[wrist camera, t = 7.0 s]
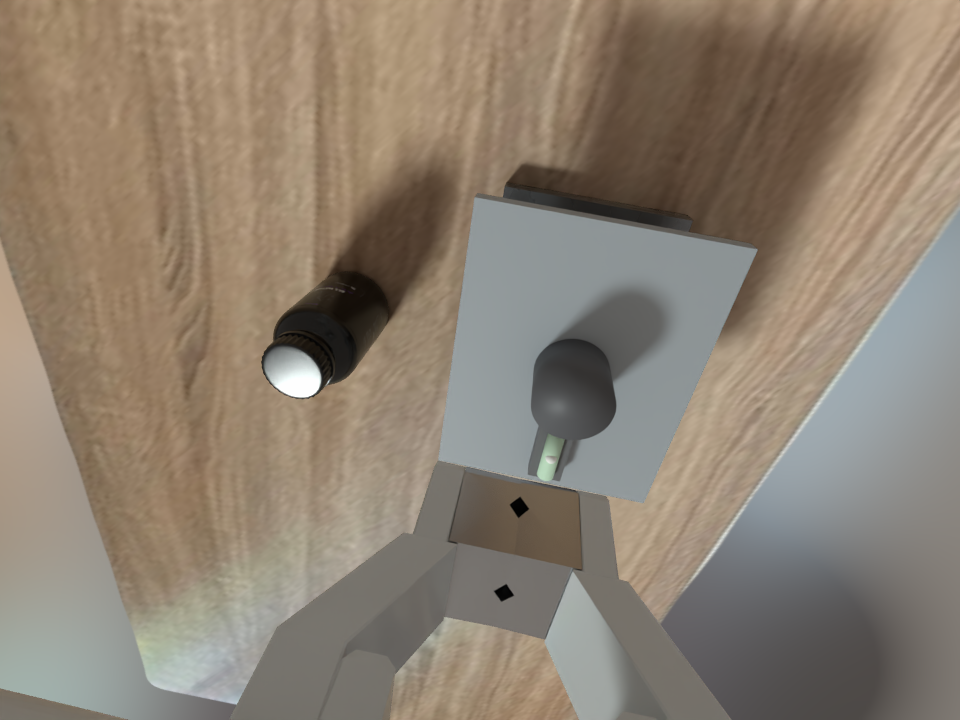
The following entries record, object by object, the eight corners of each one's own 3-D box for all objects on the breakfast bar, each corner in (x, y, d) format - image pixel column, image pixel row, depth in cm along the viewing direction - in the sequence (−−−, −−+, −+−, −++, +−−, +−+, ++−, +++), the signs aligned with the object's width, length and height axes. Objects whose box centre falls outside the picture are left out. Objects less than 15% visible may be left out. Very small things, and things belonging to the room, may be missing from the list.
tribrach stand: (506, 182, 38) (493, 209, 30) (687, 215, 37) (721, 252, 29) (474, 375, 47) (457, 434, 39) (618, 404, 46) (630, 470, 39)
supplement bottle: (353, 254, 42) (287, 310, 32) (405, 312, 45) (359, 383, 34) (303, 296, 45) (228, 361, 35) (355, 350, 47) (299, 425, 37)
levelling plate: (479, 191, 29) (463, 213, 24) (746, 240, 29) (787, 273, 24) (442, 445, 39) (426, 497, 34) (640, 486, 39) (652, 546, 34)
